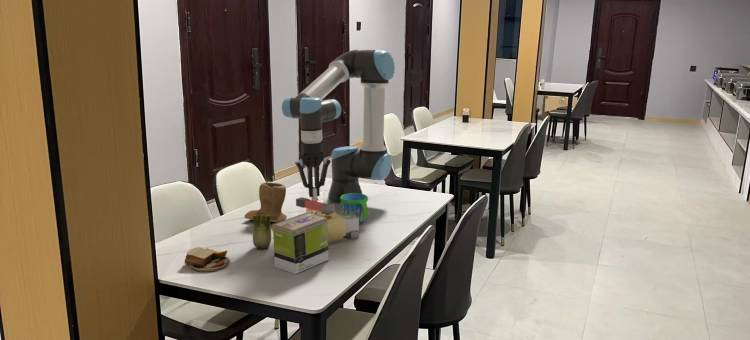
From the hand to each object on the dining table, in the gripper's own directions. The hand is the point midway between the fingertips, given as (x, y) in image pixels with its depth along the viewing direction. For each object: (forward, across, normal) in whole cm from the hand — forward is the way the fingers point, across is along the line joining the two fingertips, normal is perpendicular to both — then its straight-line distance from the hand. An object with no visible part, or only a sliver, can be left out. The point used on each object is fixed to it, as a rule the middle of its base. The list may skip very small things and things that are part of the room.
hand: (314, 205), depth 218 cm
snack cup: (+11, +18, +8) cm, 22 cm away
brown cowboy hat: (+11, -13, +22) cm, 28 cm away
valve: (+11, +2, -9) cm, 14 cm away
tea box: (+11, -12, -27) cm, 31 cm away
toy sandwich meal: (+11, -40, -17) cm, 45 cm away
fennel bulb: (+11, -21, -8) cm, 25 cm away
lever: (0, -1, -4) cm, 4 cm away
